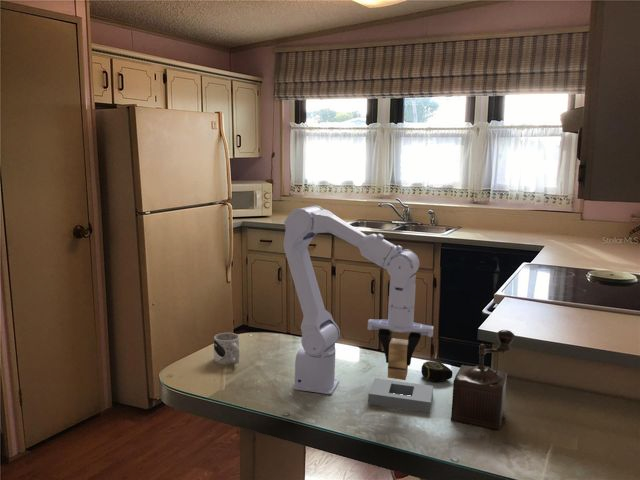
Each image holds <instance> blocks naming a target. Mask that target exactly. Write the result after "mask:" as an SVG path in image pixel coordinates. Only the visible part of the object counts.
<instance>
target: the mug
mask: <svg viewBox="0 0 640 480" xmlns="http://www.w3.org/2000/svg"><path fill="white" fill-rule="evenodd" d="M213 361H214V363H215V364H216V365H220V366H228V365H234V364H235V365H237V364H239V363H240V336H239V334H237V333H233V332H222V333H221V332H220V333H218V334H214V336H213Z"/></svg>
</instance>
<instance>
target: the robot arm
mask: <svg viewBox="0 0 640 480" xmlns="http://www.w3.org/2000/svg"><path fill="white" fill-rule="evenodd" d="M283 224H284V226H285V230H284V231H285V232H284V238H283V250H284V252H285V256H286V259H287V260H286V261H287V263H288V266H289V271H290V274H291V277H292V280H293V281H292V282H293V284H294V288H295V291H296V295H297V298H298V302H299V305H300V308H301V313H302V315H303V318H302V322H301V324H300V330H301V346H302V348H300V349H299V348H298V350H297V353H296V355H295V361H294V362H295V363H294V386H293V389H294V390H297V391H304V392H305V391H306V392H310V393H312V392H313V393H316V394H317V393H319V394H324V395H332V394H333V393H334V391H335V389H336V387H337V385H338V384H339V382H340V380H339V379H336V377H335V374H336V371H335V369H336V344H337V342H338V341H339V340H340V336H341V331H340V327H339V326H338V325H337V323H336V322H335V320H334V319H333V316H332V314H331V313H330V311H328V310H327V309H326V308H325V304H324V300H323V297H322V294H321V291H320V287H319V283H318V280H317V276H316V273H315V270H314V267H313V263H312V260H311V256H310V252H309V249H308V247H309V245H310V244H311V242H312V240H313V239H314V237H315V236H316V235H318V234H323V233H330V234H332V235H334V236H335V237H337V238H339V239H341V240H343V241H345V242H347V243H349V244H351V245H352V246H355V247H357V248H358V249H359V251H360V256H361V257H364V258H365V259H367V260H369V261H370V262H372V263H374V264H375V265H377V266H379V267H380V268H382V269H385V270H386V272H387V274H388V275H389V276H390V280H389V288H388V289H389V291H388V293H389V294H388V310H387V311H388V313H387V319H372V318H370V319H368V320H367V331H372V330H377V331H378V334H377V335H378V340H379V341H380V343H381V346H382V349H383V351H384V355H385V362H386V364H388V358H389V343H390V341H391V339H392V334H393V332H394V333H402V334H403V333H404V334H409V335H408V337H407V340H408V356H407V366H408V367H410V366H411V362H412V357H413V354H414V351H415V350H416V347H417V346H418V344H419V343H420V339H421V337H422V336H427V337H428V338H433V337H434V336H433V335H434V325H427V324H424V323H423V324H422V323H418V322H415V321H414V319H415V303H416V287H417V285H416V278H417V274H415V273H417V272H418V270H419V268H420V259H419V257H418V255H417V254H416V253H415V252H413V250H411V249H406V248H405V249H403V246H401V245H399V244H398V245H395V244H394V243H392V242H390V241H388V240H386V239H384V238H385V235H383V234H382V233H377V234H376V233H371V234H368V235H367V234H365V233H363V232H362V231H360V230H359V229H358V228H356V227H355V226H352V225H351V224H350V223H348V222H346V221H344V220H343V219H342V218H340V217H339V216H337V215H335V214H334V213H333V212H331V210H328V209H324V208H323V206H322V207H321V206H319V205H315V204H313V205H309V206H306V207H301V208H300V207H298V208H294V209H292V210H291V211H290V212H289V213H288V215H287V217H286V218H285V220H284V221H283Z"/></svg>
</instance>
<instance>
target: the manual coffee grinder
mask: <svg viewBox="0 0 640 480" xmlns="http://www.w3.org/2000/svg"><path fill="white" fill-rule="evenodd" d="M496 338H497V340H498V341H499V342H498V343H499V344H498V346H497V348H486V345H485V344H483V343H481V344H480V345H479V346H478V347H479V350H478V354H479V363H478V365H475V366H472V365H464V364H461V366H460V368H459V369H458V371H457V373H456V375H455V376H454V379H453V381H452V382H453V384H452V385H453V386H452V387H453V388H452V400H451V413H450V421H453V422H457V423H460V424H465V425H469V426H473V427H478V428H482V429H485V430H486V429H487V430H492V431H498V432H499V431H500V430H501V427H502V425H503V423H504V422H505V421H506V417H507V415H506V414H505V404H506V403H505V401H506V400H505V399H506V389H507V378H508V377H507V375H508V373H507V372H505V371H500V370H499V369H492V368H490V367H489V366H485V365H484V364H485V363H484V362H485V355H486V354H487V353H499V352H502V353H505V352H509V351H511V350H512V349H511V344H512V343H513V341H515V338H516V336H515V333H513V332H512V331H511V330H508V329H501V330H499V331H498V332H497V333H496Z"/></svg>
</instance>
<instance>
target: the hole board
mask: <svg viewBox="0 0 640 480" xmlns="http://www.w3.org/2000/svg"><path fill="white" fill-rule="evenodd" d="M368 391H369V392H368V395H367V396H368V397H367V398H368V400H367V404H368V405H374V406H380V407H381V406H382V407H388V408H393V407H395V408H394V409H400V408H402V410H407V409H408V411H409V410H410V411H413V412H414V411H415V412H422V413H428V414H429V413H430V414H431V409H432V402H433V396H434V385H429V384H428V385H427V384H422V383H421V384H420V383H414V382H406V381H399V380H391V379H385V378H376V377H375V378H374V380H373V382H372V384H371V387H370V388H369V390H368ZM393 393H395V394H393ZM400 394H403V395H400ZM407 395H411V396H407Z"/></svg>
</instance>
